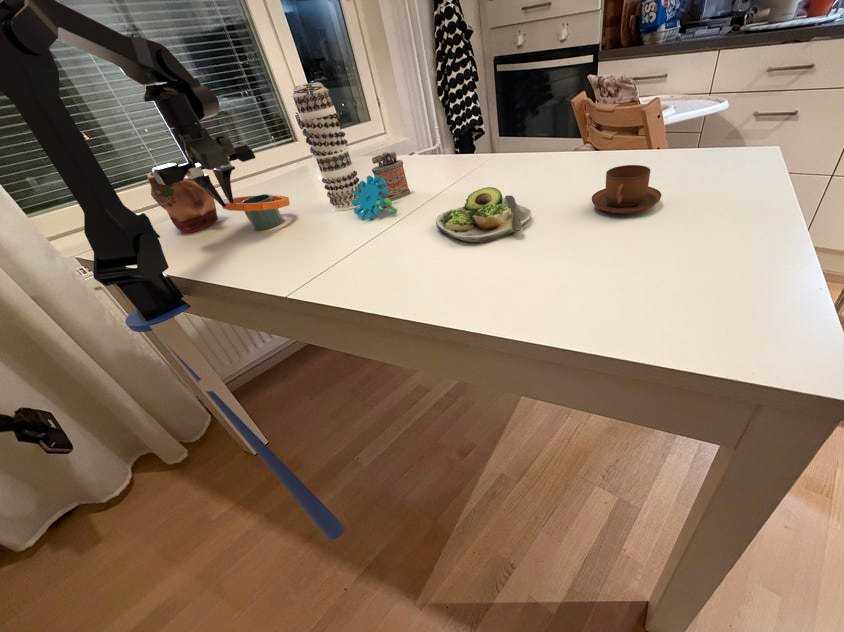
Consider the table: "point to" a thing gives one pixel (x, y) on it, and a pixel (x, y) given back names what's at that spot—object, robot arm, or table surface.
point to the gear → (371, 198)
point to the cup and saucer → (626, 190)
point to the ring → (255, 204)
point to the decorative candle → (327, 143)
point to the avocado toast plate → (484, 217)
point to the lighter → (391, 175)
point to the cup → (263, 214)
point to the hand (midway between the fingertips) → (228, 205)
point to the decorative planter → (185, 203)
